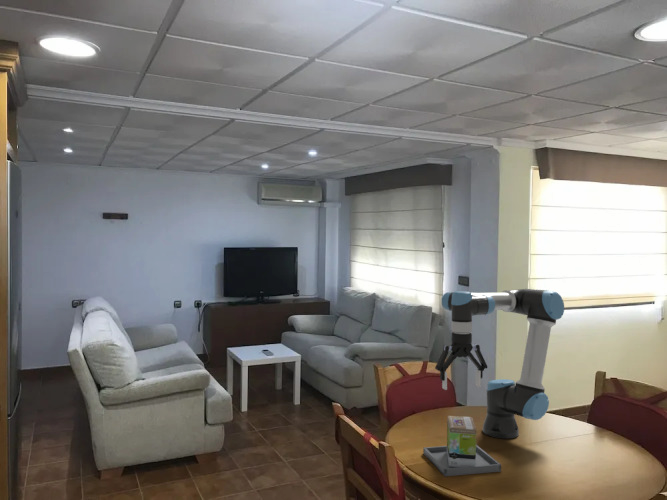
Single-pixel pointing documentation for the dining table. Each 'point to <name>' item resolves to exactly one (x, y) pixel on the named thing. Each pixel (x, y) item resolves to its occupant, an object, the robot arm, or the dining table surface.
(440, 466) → the tray
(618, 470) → the dining table surface
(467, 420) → the tea box
